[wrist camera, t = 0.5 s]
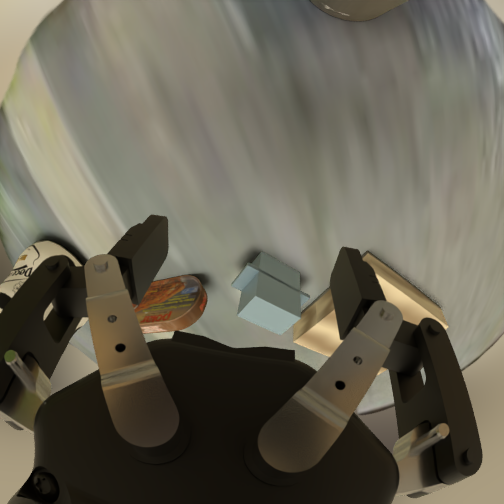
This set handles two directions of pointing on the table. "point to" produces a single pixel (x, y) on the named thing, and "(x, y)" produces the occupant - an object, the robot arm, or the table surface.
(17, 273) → the milk container
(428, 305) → the block
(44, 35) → the table surface
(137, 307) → the tin
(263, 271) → the grey-blue stepped block
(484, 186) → the table surface
